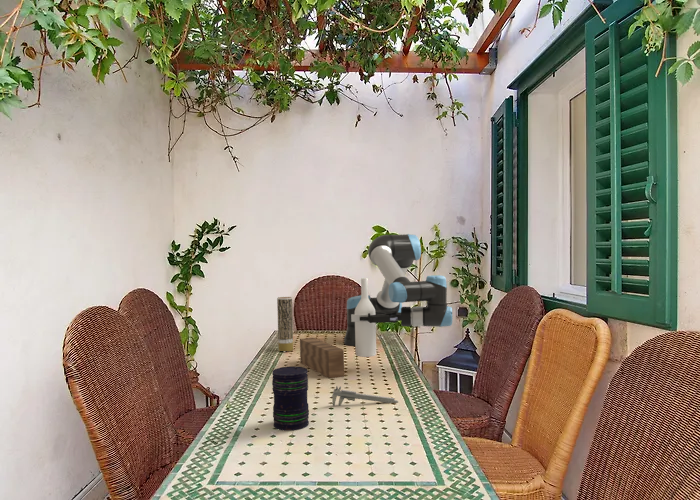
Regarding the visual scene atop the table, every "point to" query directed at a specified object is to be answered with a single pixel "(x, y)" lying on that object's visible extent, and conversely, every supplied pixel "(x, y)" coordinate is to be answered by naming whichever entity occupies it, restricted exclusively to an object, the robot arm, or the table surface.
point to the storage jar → (290, 398)
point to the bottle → (365, 325)
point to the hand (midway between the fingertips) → (353, 316)
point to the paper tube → (285, 323)
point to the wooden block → (322, 357)
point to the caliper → (358, 396)
